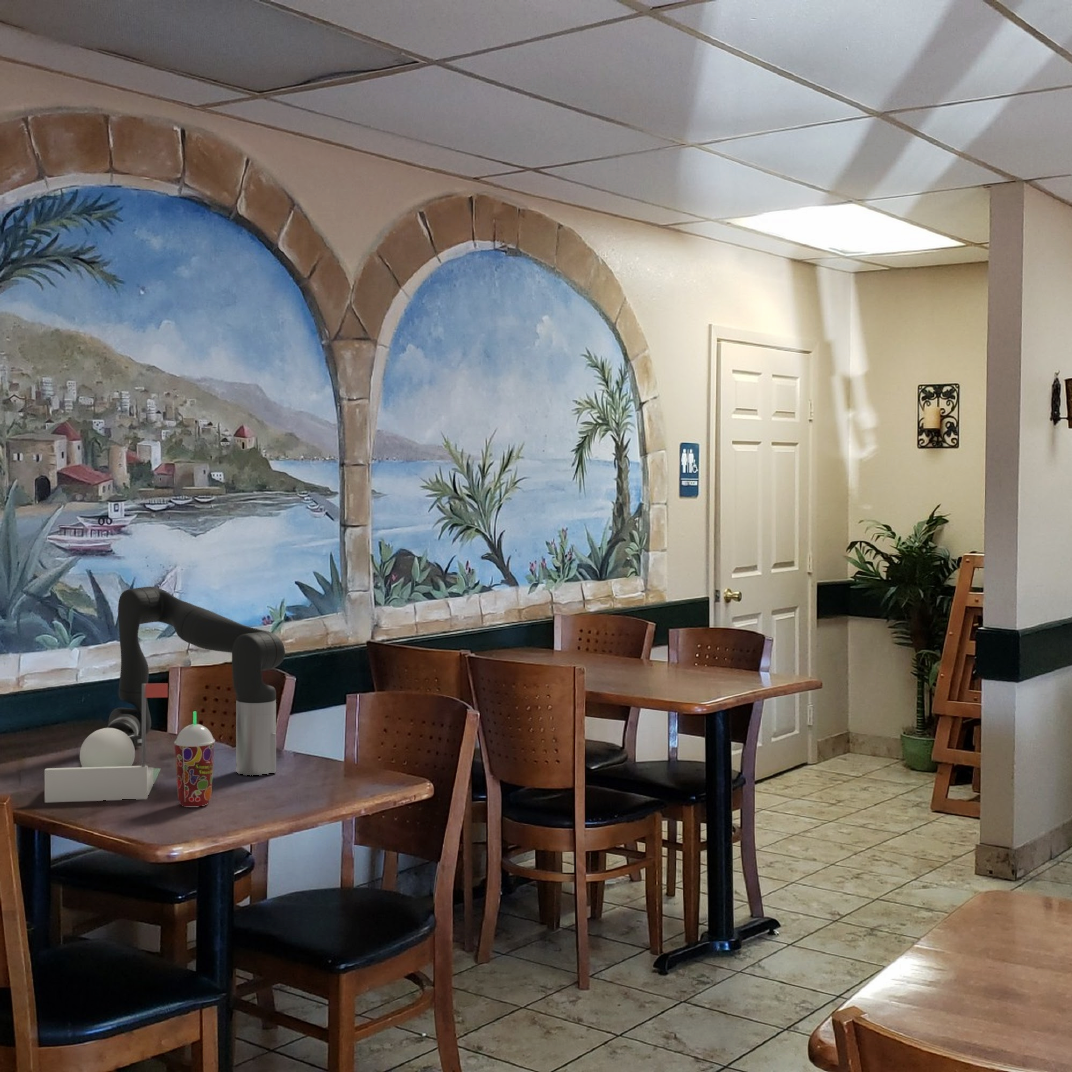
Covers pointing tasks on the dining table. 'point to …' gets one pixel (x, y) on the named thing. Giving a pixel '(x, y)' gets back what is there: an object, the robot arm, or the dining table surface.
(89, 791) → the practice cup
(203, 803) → the smoothie
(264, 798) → the dining table surface
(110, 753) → the ball
